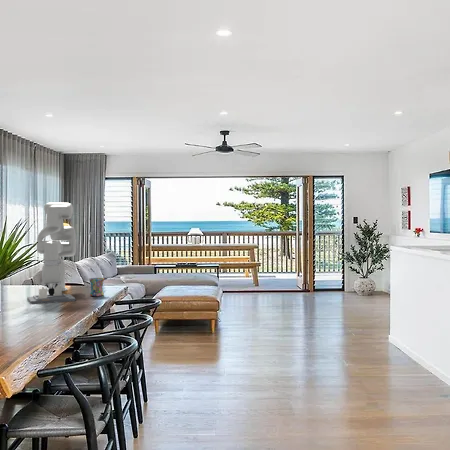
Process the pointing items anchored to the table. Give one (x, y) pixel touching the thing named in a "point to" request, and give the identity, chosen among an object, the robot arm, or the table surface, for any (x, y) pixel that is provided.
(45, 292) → the tab
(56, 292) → the tab
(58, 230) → the robot arm
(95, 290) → the mug
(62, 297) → the switch bank
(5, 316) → the table surface
